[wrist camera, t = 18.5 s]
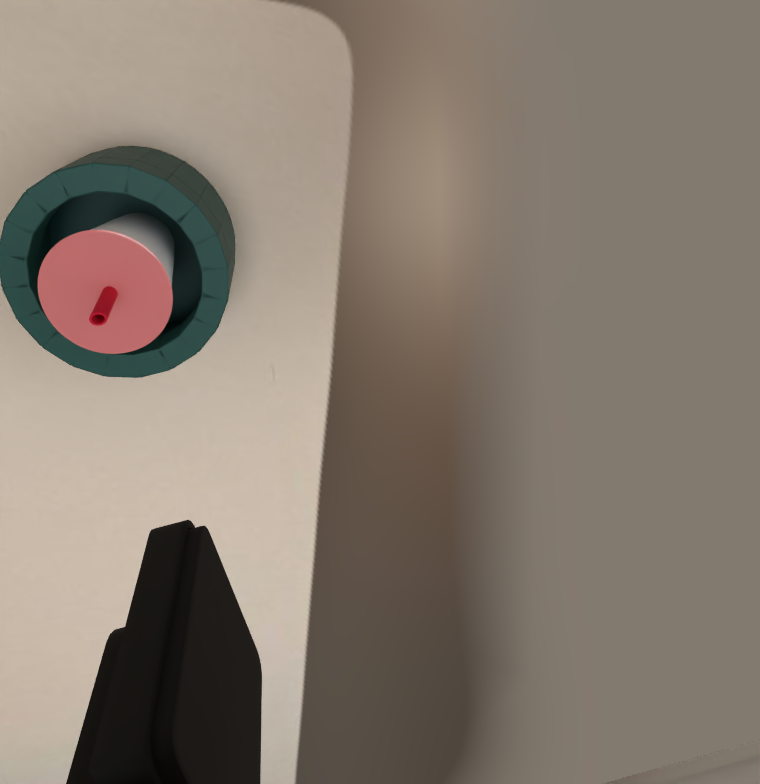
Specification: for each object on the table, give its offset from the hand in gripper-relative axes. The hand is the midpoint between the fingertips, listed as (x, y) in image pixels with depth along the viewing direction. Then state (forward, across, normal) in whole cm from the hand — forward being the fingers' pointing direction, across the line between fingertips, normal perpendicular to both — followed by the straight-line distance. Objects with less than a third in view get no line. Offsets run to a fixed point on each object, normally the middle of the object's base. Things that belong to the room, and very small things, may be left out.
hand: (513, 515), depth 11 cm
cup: (+30, +11, 0) cm, 32 cm away
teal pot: (+30, +11, 0) cm, 32 cm away
